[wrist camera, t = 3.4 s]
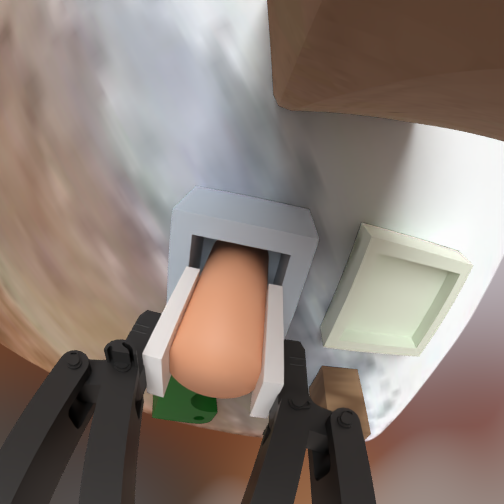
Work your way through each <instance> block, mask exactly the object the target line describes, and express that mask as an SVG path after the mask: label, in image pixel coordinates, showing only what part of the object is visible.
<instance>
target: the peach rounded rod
mask: <svg viewBox="0 0 504 504" xmlns="http://www.w3.org/2000/svg"><path fill="white" fill-rule="evenodd" d="M268 264H269V255H268V251H267V250H264V249H260V248H255V247H250V246H245V245H241V244H236V243H231V242H226V241H221V240H217V241H216V242H215V243H214V245H213V247H212V250H211V252H210V254H209V256H208V259H207V261H206V263H205V266H204V268H203V270H202V272H201V275H200V277H199V280H198V282H197V285H196V287H195V289H194V292H193V294H192V297H191V299H190V301H189V304H188V306H187V309H186V311H185V313H184V316H183V318H182V321H181V323H180V326H179V328H178V331H177V333H176V335H175V338H174V340H173V343H172V345H171V348H170V351H169V371H170V373H171V375H172V376H173V377H174V378H175V379H176V380H177V381H178V382H179V383H180V384H181V385H183V386H184V387H186V388H187V389H189V390H191V391H193V392H195V393H198V394H201V395H204V396H208V397H213V398H236V397H240V396H243V395H246V394H248V393H250V392H252V391H253V390H254V389H255V387H256V384H257V381H258V378H259V376H260V373H261V366H262V352H263V337H264V322H265V307H266V293H267V283H268Z"/></svg>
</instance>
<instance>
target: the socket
mask: <svg viewBox="0 0 504 504" xmlns="http://www.w3.org/2000/svg"><path fill="white" fill-rule="evenodd" d="M217 240H221V241H226V242H231V243H236V244H241V245H245V246H250V247H255V248H260V249H264V250H267V251H268V255H269V264H268V283H267V289H268V286H269V284H273V285H278V286H283V327H284V339H285V337H286V334H287V331H288V329H289V326H290V323H291V321H292V318H293V315H294V312H295V310H296V307H297V304H298V301H299V299H300V296H301V293H302V290H303V287H304V284H305V281H306V278H307V275H308V273H309V270H310V267H311V264H312V261H313V258H314V254H315V251H316V248H317V245H318V242H319V237H318V234H317V231H316V228H315V225H314V222H313V219H312V216H311V213H310V210H309V209H306V208H301V207H297V206H293V205H288V204H284V203H279V202H275V201H270V200H265V199H261V198H256V197H251V196H246V195H241V194H236V193H231V192H226V191H221V190H216V189H210V188H205V187H199V186H195V187H194V188H193V189H192V190H191V191H190V192H189V193H188V194H187V195H186V196H185V197H184V198H183V199H182V200H181V201H180V202H179V203H178V204H177V205H176V206H175V207H174V208H173V209H172V218H171V231H170V245H169V261H168V283H167V303H168V301H169V299H170V297H171V295H172V293H173V291H174V289H175V287H176V285H177V283H178V281H179V279H180V278H181V276H182V274H183V272H184V270H185V268H186V266H188V267H192V268H197V269H200V273H199V277H200V275H201V272H202V270H203V268H204V266H205V263H206V261H207V259H208V256H209V254H210V252H211V250H212V247H213V245H214V243H215V242H216V241H217Z"/></svg>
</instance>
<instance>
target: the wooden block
mask: <svg viewBox="0 0 504 504" xmlns="http://www.w3.org/2000/svg"><path fill="white" fill-rule="evenodd" d="M267 5H268V18H269V31H270V46H271V61H272V77H273V95H274V97H275V99H276V101H277V104H278V106H280V107H283V108H285V109H288V110H290V111H315V112H331V113H344V114H354V115H363V116H372V117H379V118H387V119H393V120H400V121H405V122H411V123H419V124H425V125H432V126H438V127H443V128H449V129H454V130H459V131H464V132H468V133H473V134H477V135H481V136H485V137H489V138H493V139H497V140H501V141H504V0H267Z"/></svg>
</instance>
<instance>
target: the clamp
mask: <svg viewBox="0 0 504 504" xmlns="http://www.w3.org/2000/svg"><path fill="white" fill-rule="evenodd" d="M217 412H218V411H217V402H216V398H213V397H208V396H204V395H201V394H198V393H195V392H193V391H191V390H189V389H187V388H186V387H184V386H183V385H181V384H180V383H179V382H178V381H177V380H176V379H175V378H174V377H173V376H172V375H171V377H170V380H169V383H168V386H167V389H166V392H165V395H164V398H163V397H160V396H156V395H153V411H152V417H153V418H158V419H164V420H171V421H179V422H187V423H196V424H202V423H207V422H210V421H211V420H212V419H213V418H214V416H215V415H216V414H217Z"/></svg>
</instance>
